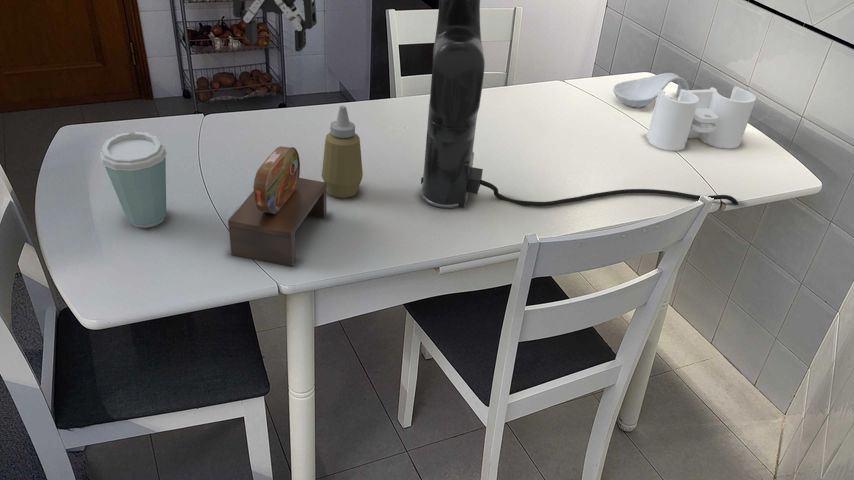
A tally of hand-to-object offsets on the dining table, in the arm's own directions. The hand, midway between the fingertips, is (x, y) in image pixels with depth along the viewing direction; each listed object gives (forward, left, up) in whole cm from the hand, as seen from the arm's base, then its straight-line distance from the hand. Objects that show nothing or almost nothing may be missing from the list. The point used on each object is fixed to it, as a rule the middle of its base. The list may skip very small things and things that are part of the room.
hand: (276, 46), depth 132 cm
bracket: (-86, -56, -28) cm, 106 cm away
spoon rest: (-75, -78, -28) cm, 112 cm away
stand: (-6, +17, -28) cm, 33 cm away
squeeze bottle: (-12, -2, -28) cm, 31 cm away
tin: (-6, +17, -21) cm, 28 cm away
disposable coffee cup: (+18, +20, -28) cm, 39 cm away
